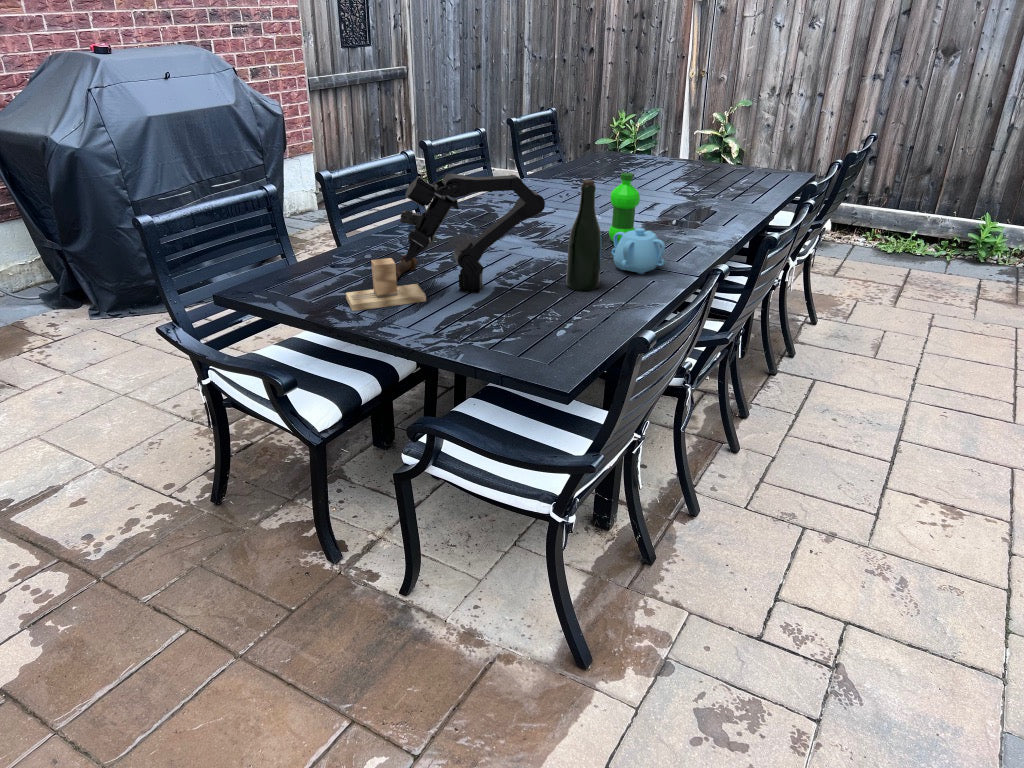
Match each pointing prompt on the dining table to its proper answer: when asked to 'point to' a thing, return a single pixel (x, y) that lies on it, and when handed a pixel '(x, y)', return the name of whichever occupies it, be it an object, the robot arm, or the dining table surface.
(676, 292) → the dining table surface
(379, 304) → the plank
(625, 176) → the plastic bottle
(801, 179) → the dining table surface
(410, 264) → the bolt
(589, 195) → the beer bottle
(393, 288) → the block
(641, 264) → the decorative pot
